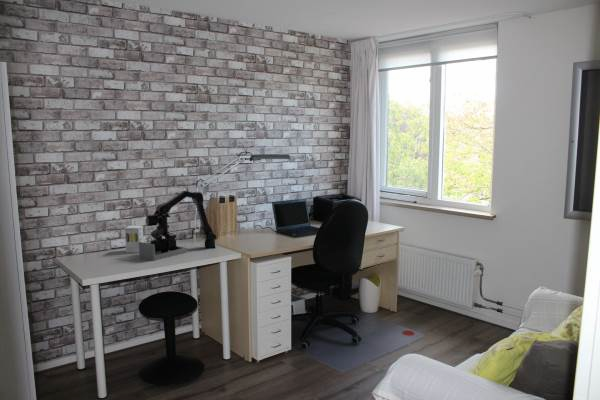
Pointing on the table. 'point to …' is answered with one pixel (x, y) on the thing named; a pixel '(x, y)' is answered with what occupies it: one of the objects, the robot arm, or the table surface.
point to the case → (149, 252)
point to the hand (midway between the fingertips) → (164, 248)
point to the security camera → (163, 245)
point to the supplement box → (133, 238)
